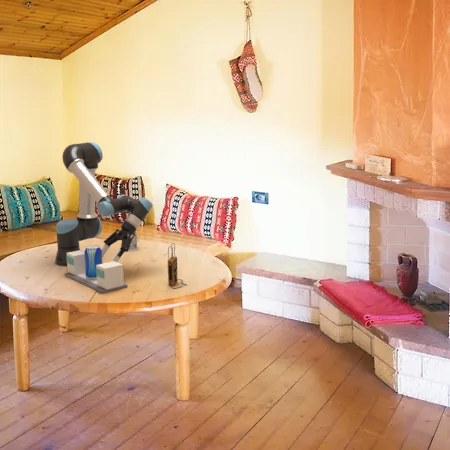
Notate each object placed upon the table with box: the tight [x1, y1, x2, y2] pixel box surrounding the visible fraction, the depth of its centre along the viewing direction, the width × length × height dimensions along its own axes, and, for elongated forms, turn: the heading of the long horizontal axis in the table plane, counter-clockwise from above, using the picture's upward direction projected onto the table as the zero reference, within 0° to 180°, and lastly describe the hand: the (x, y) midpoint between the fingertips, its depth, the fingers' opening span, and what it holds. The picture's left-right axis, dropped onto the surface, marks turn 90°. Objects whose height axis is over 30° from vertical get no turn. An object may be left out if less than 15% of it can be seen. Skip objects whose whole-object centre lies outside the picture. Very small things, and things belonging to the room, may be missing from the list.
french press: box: [126, 229, 140, 252], centre depth 380 cm, size 10×12×25 cm
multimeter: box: [167, 243, 189, 289], centre depth 316 cm, size 15×10×20 cm
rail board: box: [63, 249, 128, 294], centre depth 322 cm, size 38×14×12 cm, turn 41°
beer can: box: [84, 244, 103, 280], centre depth 322 cm, size 8×8×16 cm
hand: (106, 258), depth 326 cm, fingers open, 13 cm apart
